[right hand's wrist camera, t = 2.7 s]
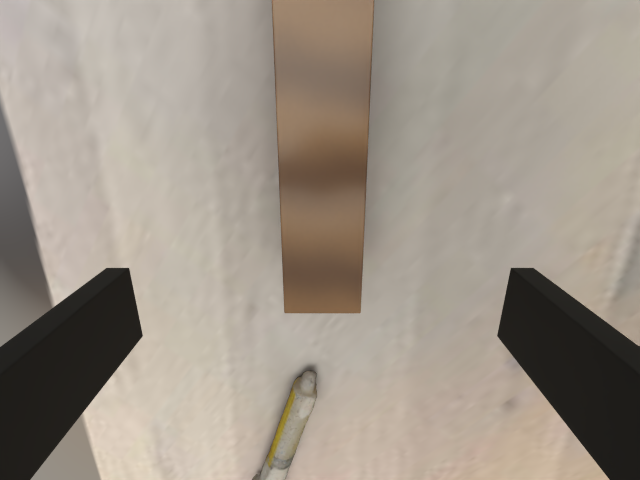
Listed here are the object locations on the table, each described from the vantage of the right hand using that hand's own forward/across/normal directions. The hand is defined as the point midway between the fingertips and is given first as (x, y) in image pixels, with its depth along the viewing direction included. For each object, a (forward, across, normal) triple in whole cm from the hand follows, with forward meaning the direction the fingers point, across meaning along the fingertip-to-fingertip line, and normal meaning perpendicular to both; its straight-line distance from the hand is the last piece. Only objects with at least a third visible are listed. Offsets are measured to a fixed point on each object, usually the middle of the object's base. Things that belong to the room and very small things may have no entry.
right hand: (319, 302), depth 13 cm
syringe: (+16, +4, +28) cm, 33 cm away
